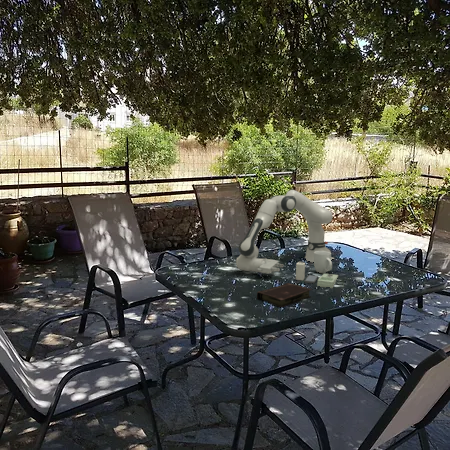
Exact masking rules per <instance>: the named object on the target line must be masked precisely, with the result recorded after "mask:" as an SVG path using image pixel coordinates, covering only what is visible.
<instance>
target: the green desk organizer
mask: <svg viewBox="0 0 450 450" xmlns="http://www.w3.org/2000/svg"><path fill="white" fill-rule="evenodd" d="M337 278H338V279H339V274H331V273H330V274H329V273H322V275H321V276H319V277H318V279H317V282H316V283H317V284H316V287H318V286H320V288H326V287H330V288H329V289H333V288H334V287H335V285H334V284H336V283H337V281H338V279H337ZM336 280H337V281H336ZM335 282H336V283H335ZM333 286H334V287H333Z"/></svg>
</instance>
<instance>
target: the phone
mask: <svg viewBox="0 0 450 450" xmlns="http://www.w3.org/2000/svg"><path fill="white" fill-rule="evenodd" d="M318 279H319V275H313V274H311V275H310V274H309V275H308V276H307V277H306V278H305V279H304V280H303V281H304V284H312V283H313V284H314V283H315V284H316V283H317V281H318ZM316 280H317V281H316ZM313 284H312V285H313Z"/></svg>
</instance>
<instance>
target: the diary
mask: <svg viewBox="0 0 450 450" xmlns="http://www.w3.org/2000/svg"><path fill="white" fill-rule="evenodd" d="M312 290H313V289H312V288H309V287H305V286H302V285H298V284H294V283H289V282H287V283H284V284H281V285H280V284H279V285H276V286H273V287H269V288H266V289H263V290H259V291H257V292H256V299H257V300H258V299H260V301H261V300H262V301H264V302H267V303H268V304H270V305H274V306H275V307H276V306H277V307H279V308H283V307H287V306H290V305H292V304H296V303H298V302H301V301H303V300H306V299H310V298H311V296H310V291H312Z"/></svg>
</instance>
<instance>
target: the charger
mask: <svg viewBox="0 0 450 450" xmlns="http://www.w3.org/2000/svg"><path fill="white" fill-rule="evenodd" d="M295 265H296V267H295V270H296V271H295V280H297V281H305V279H306V278H305V277H306V276H305V275H306V262H303V261H298V262H297V263H296V264H295Z"/></svg>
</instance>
